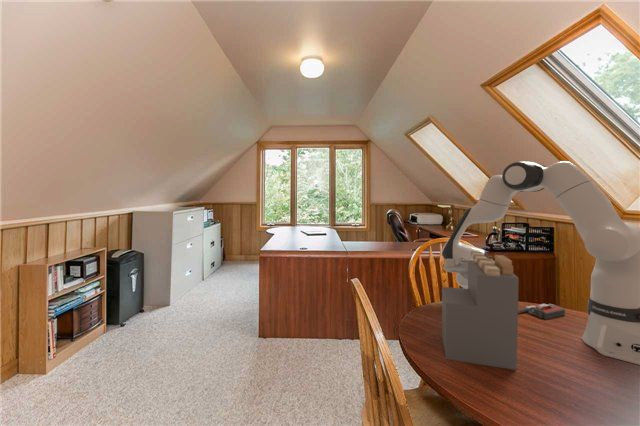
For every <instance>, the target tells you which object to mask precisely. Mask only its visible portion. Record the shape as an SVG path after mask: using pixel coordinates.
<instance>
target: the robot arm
mask: <svg viewBox="0 0 640 426" xmlns="http://www.w3.org/2000/svg"><path fill="white" fill-rule="evenodd" d="M542 190H547V191H548V192H549V193H550V194H551V195H552V197H553V198H554V199H555V200H556V202H557V204H559V205H560V207H562V209H563V210H564V212H565V213H566V214H567V215H568V217H569V218H570V220H571V221H572V222H573V225H574V226H575V228H576V230H577V232H578V234H579V236H580V238H581V240H582V241H583V244H584V249H586V251H587V252H588V254H589V255H590V256H592V257H594V258H595V263H594V265H593V270H592V272H591V274H590V275H591V277H590V296H589V297H588V300H587V316H588V318H587V322H586V323H587V324H586V327H585V330H584V332H583V335H582V337H581V339H582V341H583V343H585V344H586V345H587V346H590V348H593V349H594V350H596V351H597V352H598V353H600V354H601V355H602V356H605V357H610V358H612V359H615V360H621V361H624V362H627V363H632V364H635V365H638V366H640V226H638V225H637V224H634V223H631V222H624V221H623V219H622V218H621V216H620V215H619V213H618V212H617V211H616V209H615V207H614V205H613V204H612V201H611V199H610V198H609V197H608V196H607V195H606V194H605V193H604V192H603V191H602V189H600V187H599V186H598V185H597V184H596V183H595V182H594V181H593V180H592V179H591V178H590V177H589V175H587V173H586V172H585V171H583V170H582V169H580V167H578V166H577V165H575V164H574V163H572V162H571V161H567V160H561V161H558V162H554V163H552V164H551V165H548V166H546V165H543V164H541V163H540V164H538V163H537V162H533V161H523V160H519V161H514V162H512V163H510V164H509V165H507V166H506V167H505V168H504V170H503V171H502V174H495V175H492V176H491V177H490V178H489V179H488V180H487V182H486V183H485V185H484V187H483V189H482V191H481V194H480V196H479V199H478V201H477V202H476V204H475V205H473V206H472V207H469V208H467V209H466V210H465V211H464V213H463V214H462V216H461V218H460V219H459V221H458V223H457V224H456V226H455V228H454V230H453V231H452V233H451V234H450V237H449V239H448V240H447V241H446V242H445V243H444V245H443V247H442V249H441V256H442V258H443V259H444V265H442V269H443V270H445V271H446V272H447V273H453V274H454V273H455V281H456V283H457V284H458V285H459V286H460V288H464V289H468V262H469V263H476V262H475V261H474V259H473V258H472V257H471V251H475V252H481V253H483V254H484V255H485V256H486V257H487V258H488V259H489V260H490V261H491V262H492V263H493V264H494V262H495V260H493V258H489V257H490V256H489V255H488V253H487V251H486V250H485V249H483V248H479V247H476V246H473V245H469V244H466V243H463V242H461V241H460V240H461V238H462V237H463V234H464V233H465V231H466V230H467V228H468V227H470V226H471V225H475V224H486V223H487V224H488V223H495V222H498V221H501V220H502V219H503V218H504V217H505V216H506V214H507V213H508V210H509V208H510V204H511V202H512V199H513V198H514V197H515V195H516V194H517V193H519V192H521V193H524V192H525V193H528V192H529V193H530V192H532V193H533V192H534V193H536V192H539V191H542Z"/></svg>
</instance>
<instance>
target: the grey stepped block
mask: <svg viewBox="0 0 640 426" xmlns="http://www.w3.org/2000/svg"><path fill="white" fill-rule="evenodd" d="M494 261H495V262H494V264H495V265H496V266H497V267H498V268H499V269H500V276H487V275H486V273H485V272H484V271H483V270H482V269H481V268H480V266H479V265H478V264H477V263H469V262H468V288H463V287H450V286H442V287H441V337H442V338H441V339H442V344H443V350H444V355H445V360H450V361H456V362H462V363H467V364H475V365H481V366H487V367H488V366H489V367H494V368H502V369H507V370H515V371H517V370H518V369H517V367H518V364H517V363H518V362H517V360H518V331H519V330H518V327H519V325H518V323H519V319H518V318H519V313H518V310H519V281H520V280H519V279H520V278H519V276H517V275H516V274H515V273H514V265H512V264H513V260H511V259H510V258H509V257H507V256H506V255H504V254H502V255H501V254H495V255H494Z"/></svg>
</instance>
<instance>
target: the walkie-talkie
mask: <svg viewBox="0 0 640 426" xmlns="http://www.w3.org/2000/svg"><path fill="white" fill-rule="evenodd" d="M524 312H525V313H528V314H529V315H533V316H535V317H538V318H541V319H543V320H550V319H551V320H552V319H555V318H559V317H564V316H565V315H566V314H565V312H566V309H565V308H564V307H562V306H560V305H556V304H552V303H548V304H546V303H541V304H540V303H539V304H537V305H529V306H524V308H522V309H518V314H520V313H524Z"/></svg>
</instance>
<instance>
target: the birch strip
mask: <svg viewBox="0 0 640 426" xmlns="http://www.w3.org/2000/svg"><path fill="white" fill-rule="evenodd" d="M471 257H472V258H473V259H474V261H475V262H476V263H477V264H478V265H479V266H480V268H481V269H482V270H483V271H484V272H485V273H486V275H487V276H500V269H499V268H498V267H497V266H496V265H495V264H493V263H492V262H491V261H490V260H489V259H490V258H489V259H488V258H487V257H486V256H485V255H484V254H483V253H481V252H475V251H471Z"/></svg>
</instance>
